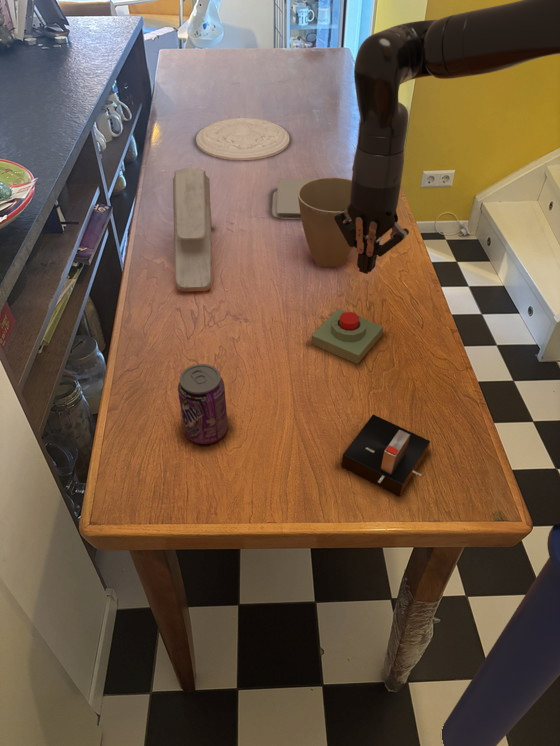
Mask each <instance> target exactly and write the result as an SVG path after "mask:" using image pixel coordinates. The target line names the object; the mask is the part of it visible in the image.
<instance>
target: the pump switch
mask: <svg viewBox="0 0 560 746" xmlns="http://www.w3.org/2000/svg"><path fill="white" fill-rule="evenodd" d="M345 312H347V311H346V310H343V309H341V308H337V309H336V310H335V311H333V313H332V314H331V315H330V316H329V317H328V318H327V319H326V320H325V321H324V322H323V323H322V324H321V325H320V327H318V328H317V330H316V331H315V332H313V334H312V335H311V345H312V346H315V347H317V348H319V349H322V350H324V351H327V352H329V353H330V354H333V355H335V356H338V357H339V358H342V359H345V360H347V361H349V362H351V363H354V364H356V365H359V363H360V362H361V361H362V360H363V359H364V357H365V356H366V355H367V354H368V353H369V351H370V350H371V349H372V348H373V347H374V346H375V344H377V342H378V341H379V339H381V338H382V336H383V332H384V325H381V324H378V323H375V322H373V321H371V320H368V319H365V318H364V317H362V316H361V315H360V314H357V315H358V316H359V325H358V328H357V329H356V330H353V331H346V330H344V329H341V328H340V326H339V321H340V315H341V314H342V313H345Z"/></svg>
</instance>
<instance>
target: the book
mask: <svg viewBox="0 0 560 746" xmlns="http://www.w3.org/2000/svg"><path fill="white" fill-rule="evenodd" d="M314 179H315V178H278V179H277V190H275V191H274V192H273V194H272V205H271V208H272V209H271V213H272V216H273V217H275V218H277V219H282V220H301V214H300V207H299V200H298V191H299V189H300V187H301V186H302V185H303V184H305V183H306V182H308V181H311V180H314Z"/></svg>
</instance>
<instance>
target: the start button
mask: <svg viewBox="0 0 560 746" xmlns="http://www.w3.org/2000/svg"><path fill="white" fill-rule="evenodd" d="M358 315H359V314H357V313H356V312H352V311H346V312H345V313H342V314H341V315H340V321H339V326H340V328H341V329H344V330H346V331H353V330H356V329H357V328H358V325H359V316H360V315H359V316H358Z"/></svg>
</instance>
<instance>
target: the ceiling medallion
mask: <svg viewBox="0 0 560 746" xmlns="http://www.w3.org/2000/svg"><path fill="white" fill-rule="evenodd" d="M195 144H196V146H197V147H198V149H199V150H200V151H202V152H204V154H206V155H209V156H212V157H214V158H218V159H222V160H230V161H254V160H262V159H266V158H270V157H272V156H275V155H278V154H280V153H281V152H283V151H284V150H285V149H287V147H288V146H289V144H290V134H289V133H288V132H287V130H286V129H285V128H283V127H281V126H280V125H278V124H276V123H274V122H271V121H269V120H265V119H261V118H252V117H237V118H227V119H222V120H220V121H215V122H213V123H211V124H208V125H206V126H205V127H204V128H202V129H201V130H200V131H198V133H197V135H196V136H195Z"/></svg>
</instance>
